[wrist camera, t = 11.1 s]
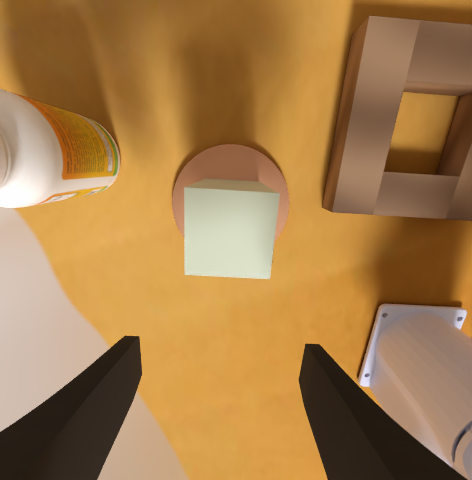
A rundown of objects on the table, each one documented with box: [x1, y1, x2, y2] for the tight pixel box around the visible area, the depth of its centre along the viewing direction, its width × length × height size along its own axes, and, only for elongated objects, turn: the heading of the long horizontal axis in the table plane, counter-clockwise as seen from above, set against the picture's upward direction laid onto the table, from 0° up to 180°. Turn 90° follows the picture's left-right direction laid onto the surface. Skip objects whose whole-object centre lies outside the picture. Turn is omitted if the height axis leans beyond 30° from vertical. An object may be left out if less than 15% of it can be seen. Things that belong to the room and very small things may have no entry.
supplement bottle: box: [0, 89, 120, 208], centre depth 13 cm, size 5×5×10 cm
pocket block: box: [322, 16, 472, 221], centre depth 16 cm, size 11×11×2 cm
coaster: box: [172, 144, 289, 241], centre depth 18 cm, size 9×9×1 cm
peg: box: [184, 178, 280, 279], centre depth 14 cm, size 4×4×8 cm
